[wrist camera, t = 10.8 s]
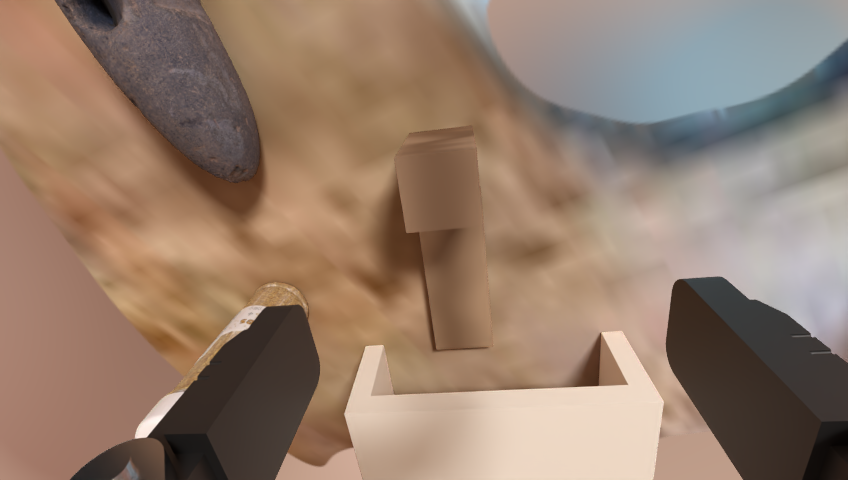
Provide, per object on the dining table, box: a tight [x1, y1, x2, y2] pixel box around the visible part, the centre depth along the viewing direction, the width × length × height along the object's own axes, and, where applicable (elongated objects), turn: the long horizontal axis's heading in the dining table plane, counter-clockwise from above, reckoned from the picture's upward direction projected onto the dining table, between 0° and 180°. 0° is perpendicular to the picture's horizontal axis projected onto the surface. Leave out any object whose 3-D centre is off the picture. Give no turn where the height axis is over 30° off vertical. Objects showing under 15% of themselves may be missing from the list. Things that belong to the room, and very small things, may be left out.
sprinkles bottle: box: [135, 282, 308, 439], centre depth 26 cm, size 5×5×14 cm
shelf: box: [344, 331, 664, 480], centre depth 31 cm, size 20×8×7 cm, turn 97°
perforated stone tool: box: [55, 0, 260, 183], centre depth 22 cm, size 15×5×7 cm, turn 22°
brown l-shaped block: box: [394, 126, 493, 350], centre depth 26 cm, size 4×16×7 cm, turn 8°
